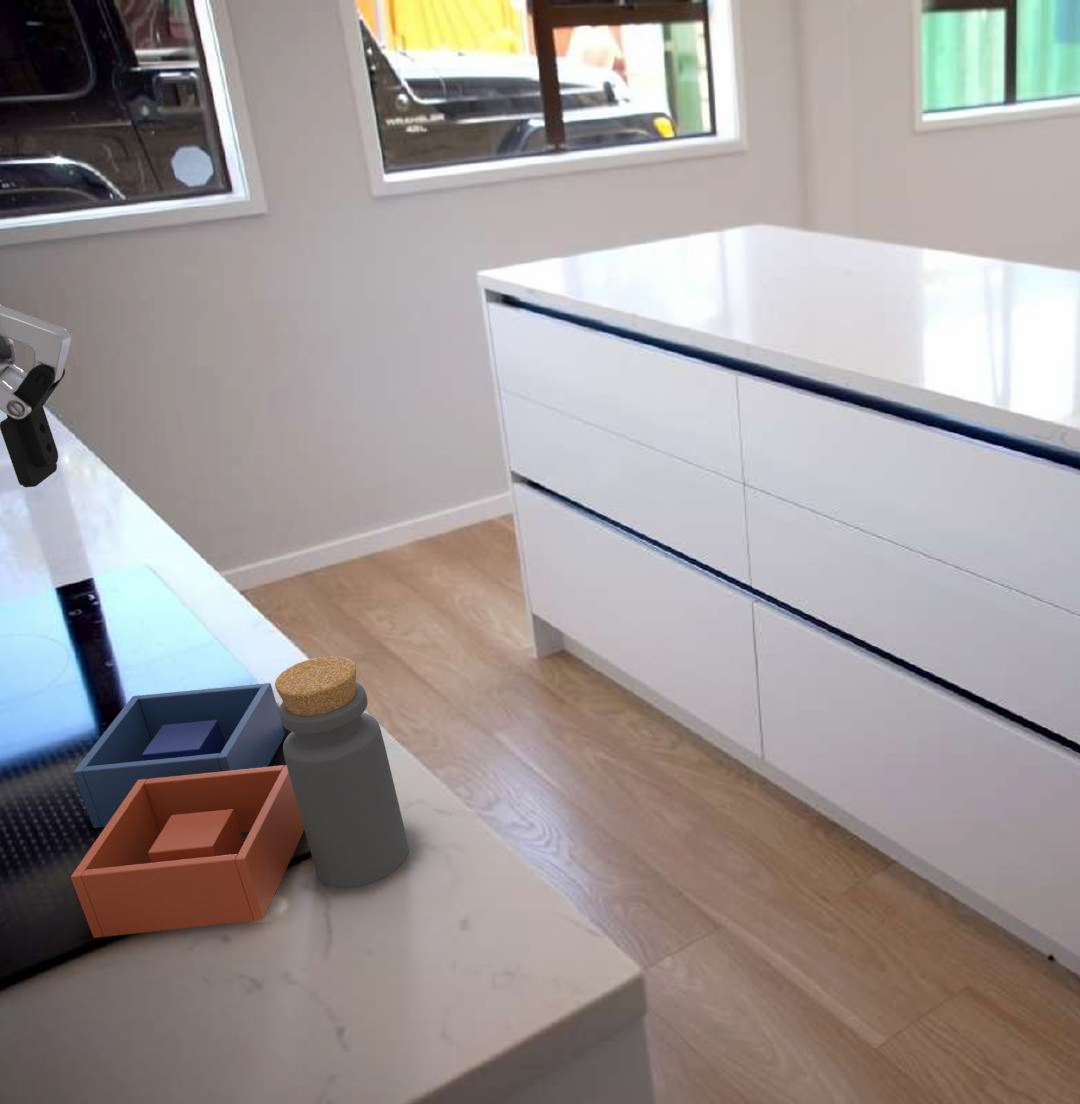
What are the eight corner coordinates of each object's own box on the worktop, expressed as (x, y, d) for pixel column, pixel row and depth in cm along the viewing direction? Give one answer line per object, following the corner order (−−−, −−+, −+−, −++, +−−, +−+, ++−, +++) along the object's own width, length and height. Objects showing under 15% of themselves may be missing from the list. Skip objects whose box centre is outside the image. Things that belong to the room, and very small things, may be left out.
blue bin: (96, 838, 88) (72, 772, 86) (153, 757, 97) (132, 695, 95) (246, 823, 89) (226, 756, 86) (287, 744, 98) (270, 682, 96)
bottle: (300, 894, 81) (243, 694, 75) (352, 838, 86) (302, 647, 80) (380, 904, 80) (329, 702, 74) (428, 847, 85) (383, 654, 79)
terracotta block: (164, 903, 80) (147, 852, 79) (187, 863, 84) (171, 814, 82) (228, 896, 81) (212, 845, 79) (248, 857, 84) (233, 808, 83)
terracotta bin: (97, 949, 78) (70, 876, 75) (160, 847, 87) (137, 779, 84) (266, 931, 78) (244, 858, 76) (311, 831, 87) (292, 764, 85)
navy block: (156, 801, 91) (141, 754, 89) (177, 769, 94) (162, 724, 93) (213, 795, 91) (199, 748, 89) (231, 764, 95) (218, 719, 93)
